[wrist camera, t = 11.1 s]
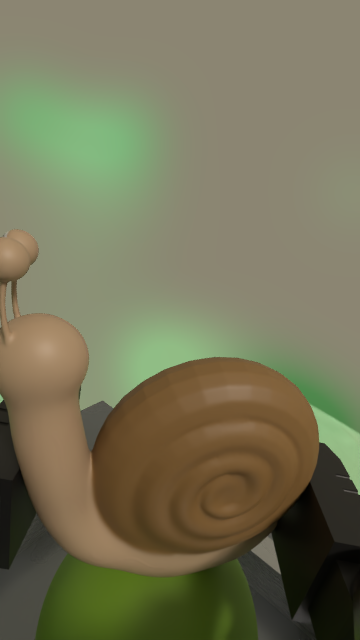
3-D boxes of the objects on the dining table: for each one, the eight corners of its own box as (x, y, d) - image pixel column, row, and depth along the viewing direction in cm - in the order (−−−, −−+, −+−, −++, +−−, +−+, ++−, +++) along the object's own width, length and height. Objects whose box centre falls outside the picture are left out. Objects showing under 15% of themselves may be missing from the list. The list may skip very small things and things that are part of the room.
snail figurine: (11, 590, 11) (28, 210, 7) (196, 569, 13) (300, 260, 8) (-59, 930, 6) (-159, 301, 2) (259, 815, 8) (575, 372, 4)
